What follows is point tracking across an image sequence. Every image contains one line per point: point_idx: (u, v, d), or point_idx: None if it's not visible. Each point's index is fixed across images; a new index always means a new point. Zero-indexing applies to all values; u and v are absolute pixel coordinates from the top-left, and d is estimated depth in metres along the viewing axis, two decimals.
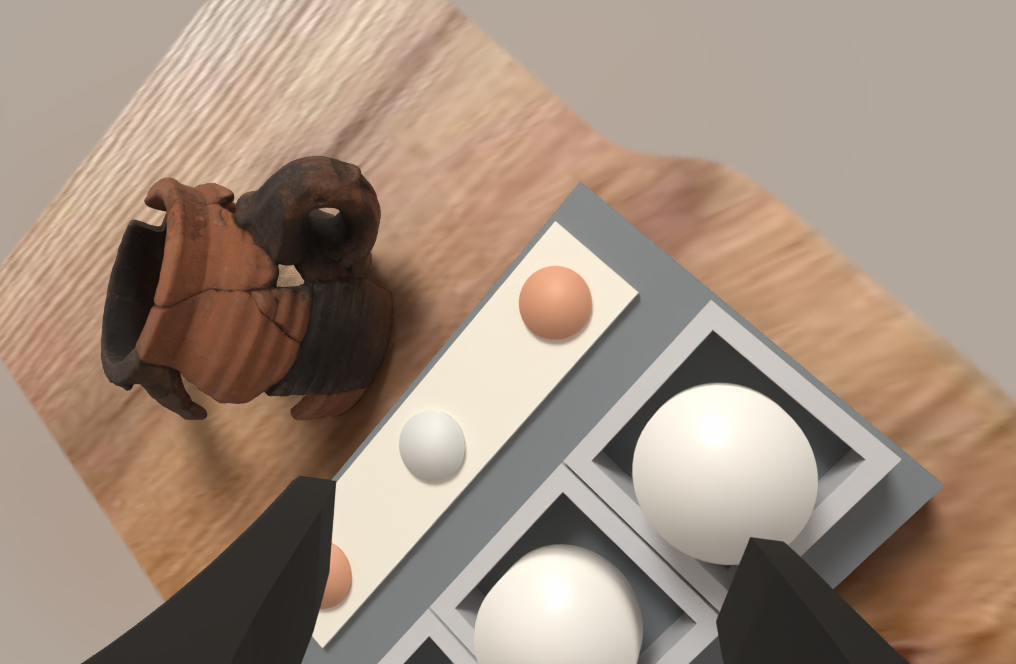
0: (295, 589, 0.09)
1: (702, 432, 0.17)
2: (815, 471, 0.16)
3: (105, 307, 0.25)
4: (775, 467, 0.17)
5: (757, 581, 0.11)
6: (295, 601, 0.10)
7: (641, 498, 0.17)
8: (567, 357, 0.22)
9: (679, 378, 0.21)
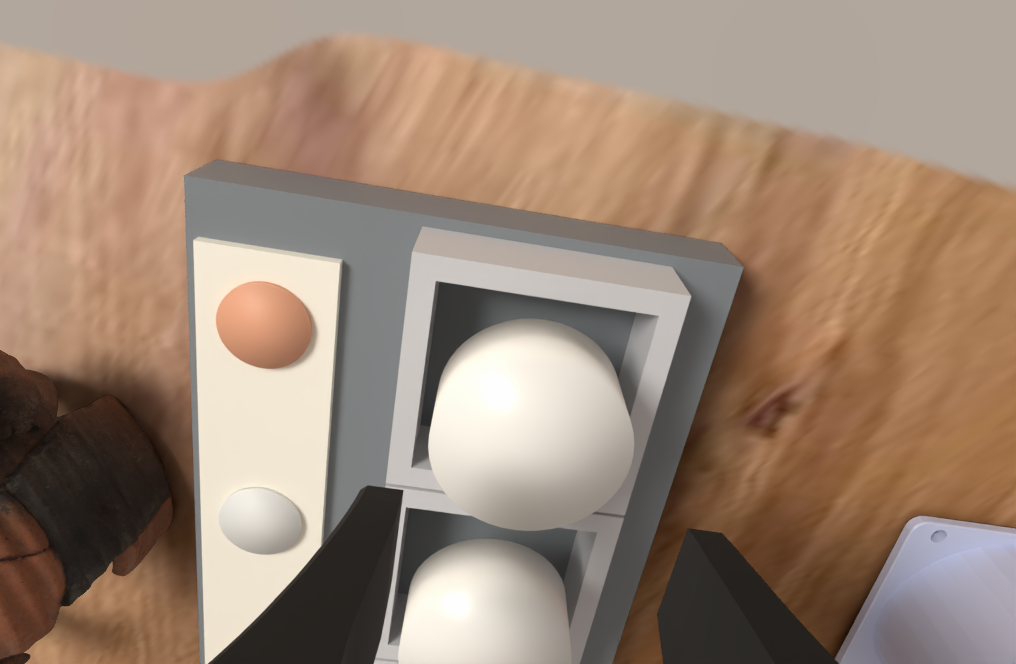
0: (375, 599, 0.09)
1: (486, 424, 0.14)
2: (614, 396, 0.14)
3: None
4: (575, 414, 0.14)
5: (692, 572, 0.11)
6: (374, 611, 0.10)
7: (472, 510, 0.15)
8: (321, 368, 0.18)
9: (444, 318, 0.18)
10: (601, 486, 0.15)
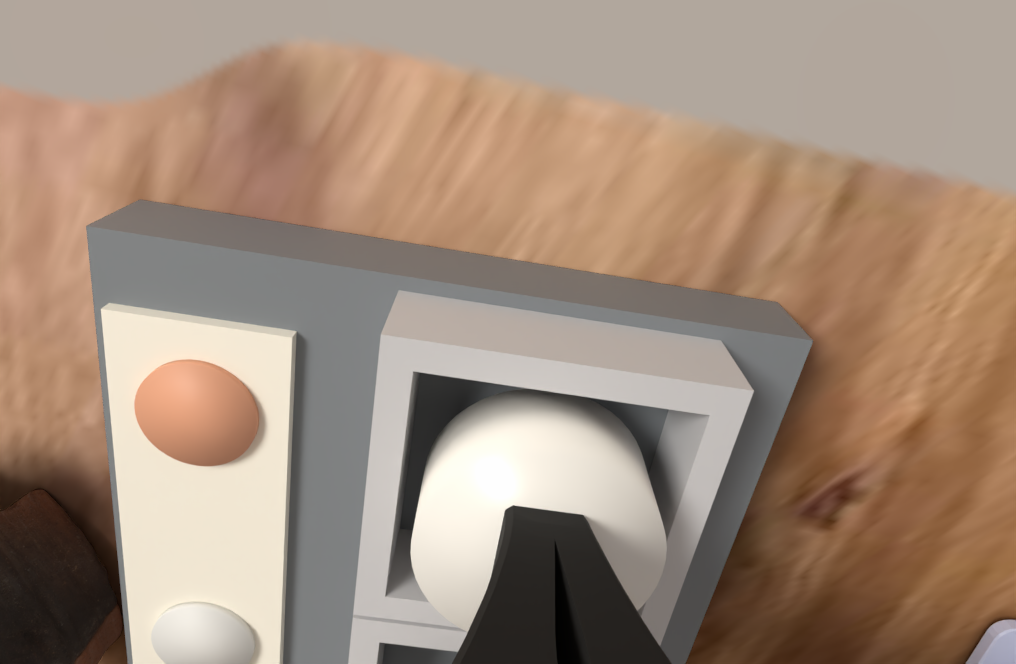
0: None
1: (482, 526, 0.11)
2: (643, 494, 0.11)
3: None
4: (594, 515, 0.11)
5: None
6: None
7: (465, 625, 0.12)
8: (272, 464, 0.14)
9: (428, 402, 0.14)
10: None
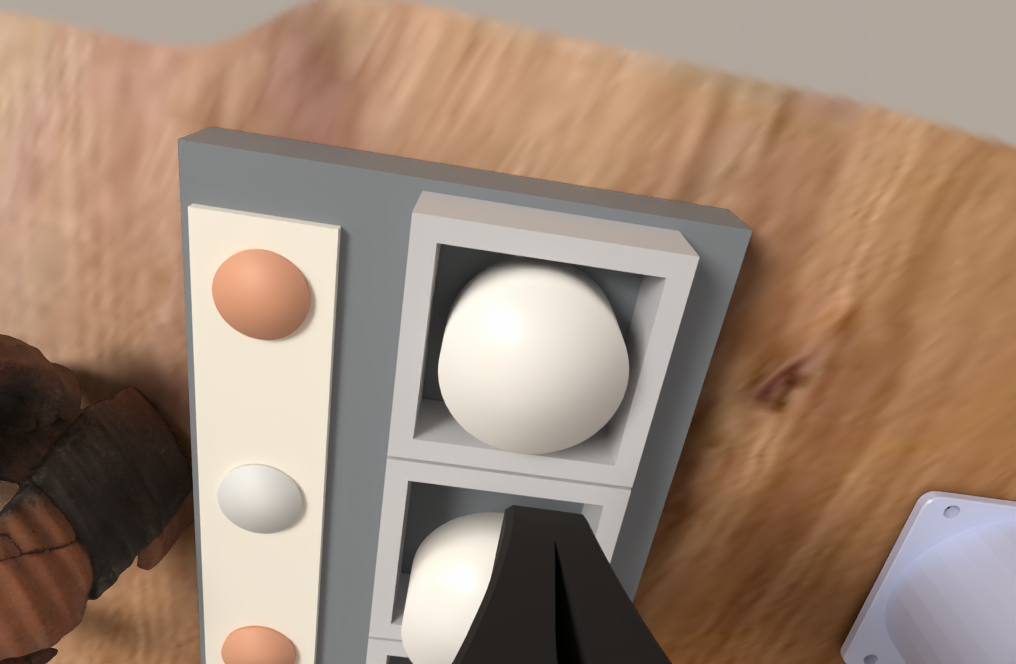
0: None
1: (491, 349, 0.15)
2: (610, 321, 0.15)
3: None
4: (574, 339, 0.15)
5: None
6: None
7: (479, 434, 0.16)
8: (319, 339, 0.18)
9: (445, 287, 0.18)
10: (599, 410, 0.16)
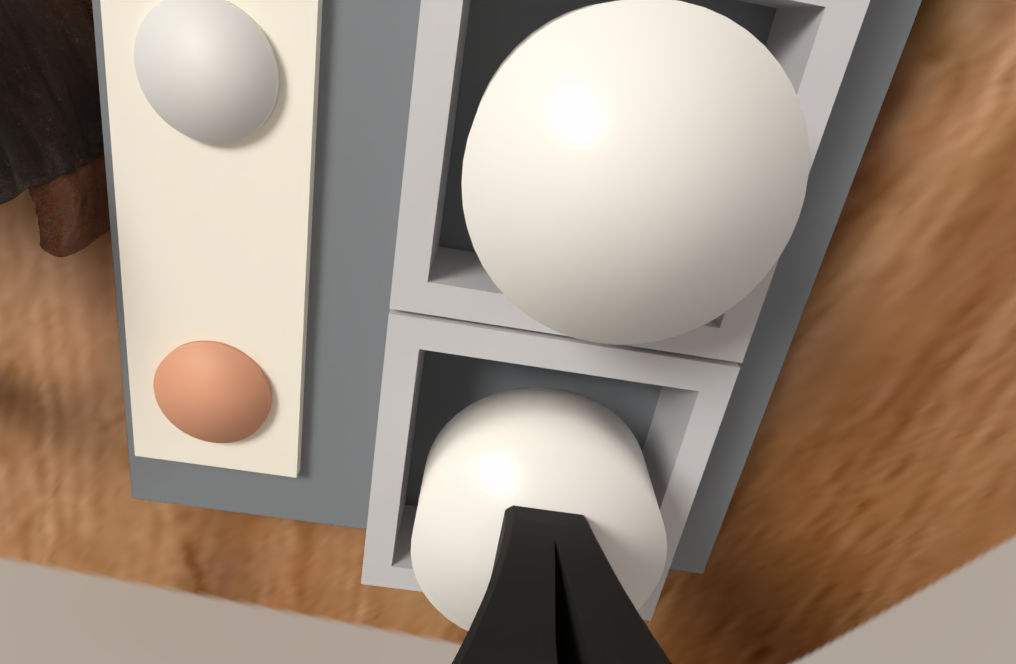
0: None
1: None
2: None
3: None
4: None
5: None
6: None
7: None
8: None
9: None
10: None
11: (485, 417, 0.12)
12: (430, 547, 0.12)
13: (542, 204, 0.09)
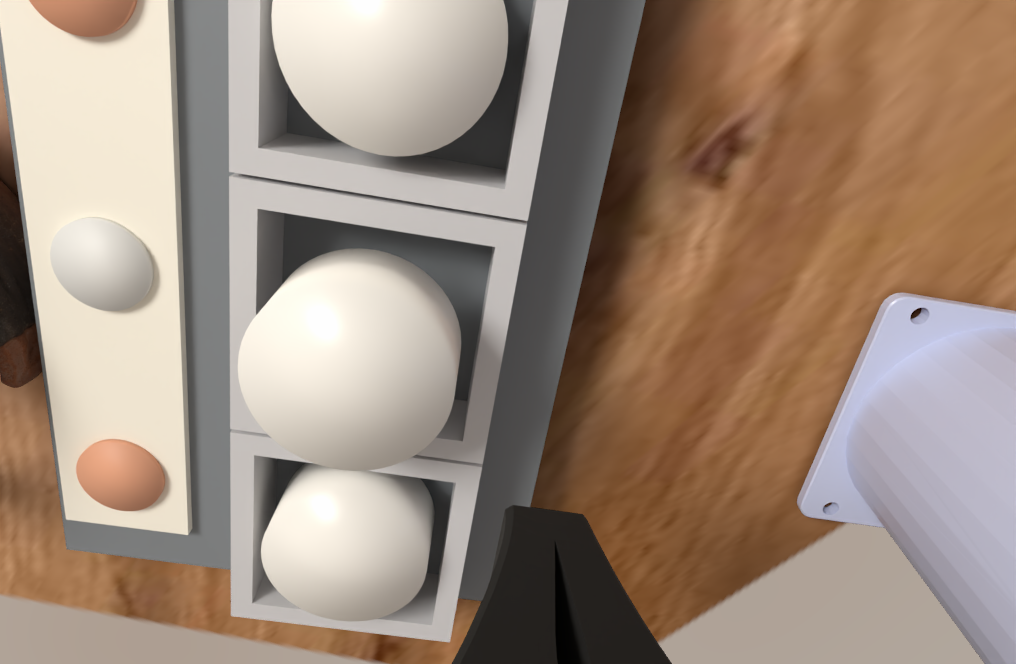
0: None
1: None
2: None
3: None
4: None
5: None
6: None
7: (330, 127, 0.13)
8: (154, 41, 0.15)
9: None
10: (474, 91, 0.13)
11: (312, 471, 0.18)
12: (274, 556, 0.18)
13: (291, 390, 0.14)
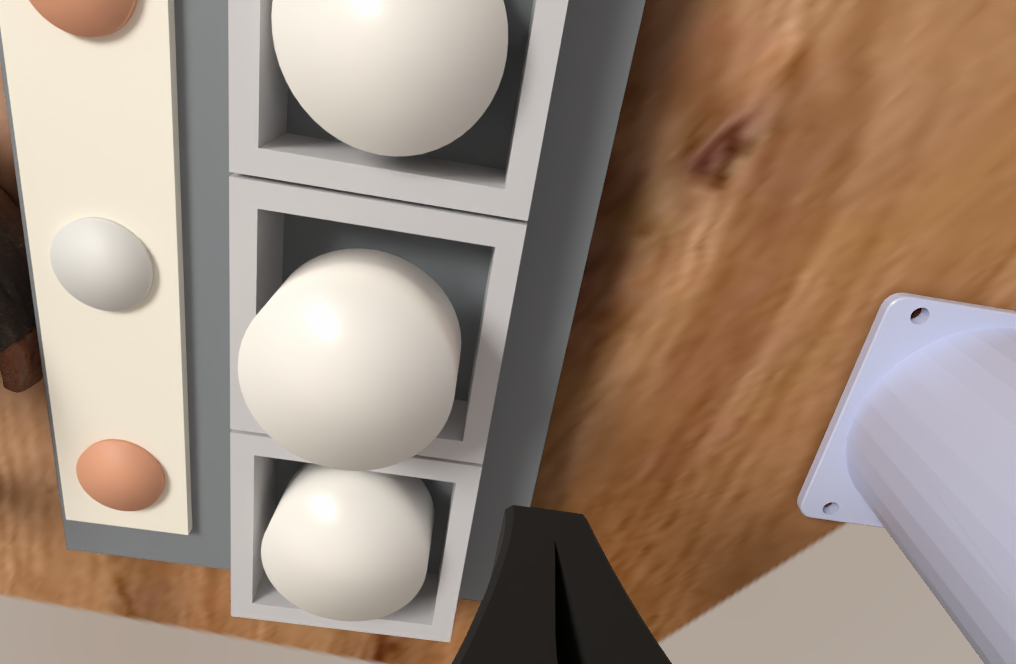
0: None
1: None
2: None
3: None
4: None
5: None
6: None
7: (331, 127, 0.13)
8: (154, 41, 0.15)
9: None
10: (474, 91, 0.13)
11: (312, 471, 0.18)
12: (274, 556, 0.18)
13: (291, 390, 0.14)
